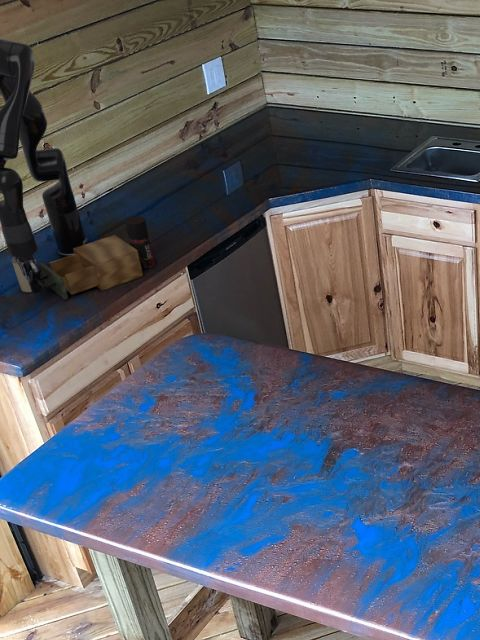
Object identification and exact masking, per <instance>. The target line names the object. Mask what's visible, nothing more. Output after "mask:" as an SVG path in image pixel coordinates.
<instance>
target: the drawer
mask: <svg viewBox="0 0 480 640" xmlns="http://www.w3.org/2000/svg"><path fill="white" fill-rule="evenodd" d="M38 264H39V268H40V269H41V274H42V277H40V280H38V283H39V286H40V289H41V291H47V290H48V288H50V289H51V290H52V291H53V292H54V293H56V294H57V295H58V296H59V297H61V298H62V299H63V300H68V299H69V295H68V293H69V294H70V295H71V296H72V295H76V294H79V293H81V292H84V291H87V290H89V289H93V288H95V287H96V286H98V285H99V282H98V279H97V275H96V271H95V268H94V266H93V265H92V264H91V263H89V262H88V261H86V260H85V259H84V258H82V257H81V256H80V255H78V254H77V253H76V254H73V255H70V256H63V257H61V258H59V259H55V260H53V261H49V262H48V265H49V266H48V265H47V264H46V263H45V262H40V263H38ZM41 281H44V282H41Z"/></svg>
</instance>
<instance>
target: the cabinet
mask: <svg viewBox="0 0 480 640" xmlns="http://www.w3.org/2000/svg"><path fill="white" fill-rule="evenodd" d="M73 251H74V254H76V253H77V254H78V255H80V256H81V257H82V258H84V259H85V260H86V261H88V262H89V263H91V264H92V265H93V266H94V268H95V271H96V275H97V279H98V282H99V285H98V286H95V287H96V288H97V289H99V290H100V291H105V290H108V289H111V288H113V287H116V286H120V285H122V284H125V283H127V282H130V281H133V280H136V279H139V278H141V277H143V276H144V273H143V269H141V265H140V260H139V256H138V252H137V250H136V249H135V248H133V247H132V246H131V245H130V243H128V242H126V241H125V240H123V239H122V238H120V237H118V236H117V235H115V234H114V235H111V236H107V237H104V238H101V239H98V240H95V241H92V242H89V243H87V244H85V245H82V246H79V247H76V248H73Z"/></svg>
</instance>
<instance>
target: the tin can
mask: <svg viewBox="0 0 480 640" xmlns="http://www.w3.org/2000/svg"><path fill="white" fill-rule="evenodd" d="M10 260H11V263H12V266H13V269H14V272H15V275H16V278H17V281H18V284H19V287H20V291H21V292H22V293H25V294H28V293H33V292H32V290H31V287H30V284H29V281H28V280H27V279H26V276H24V275H23V273H22V271H21V269H20V267H19V265H18V263H17V261H16V260H15V257H14V256H12V258H11V259H10Z"/></svg>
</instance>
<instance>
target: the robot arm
mask: <svg viewBox="0 0 480 640" xmlns="http://www.w3.org/2000/svg"><path fill="white" fill-rule="evenodd" d="M35 60H36V59H35V54H34V51H33V48H32V47H31V46H30V45H28V44H26V43H22V42H17V41H12V40H7V39H6V40H5V39H1V38H0V94H1V96H2V98H3V101H4V104H3V106H1V108H0V195H3V199H2V200H0V226H1V232H2V235H3V238H4V241H5V244H6V247H7V250H8V253H9V255H10V256H11V257H15V260H16V261H17V263H18V265H19V267H20V269H21V271H22V273H23V275H24V276H26V279H27V280H28V281H29V284H30V287H31V290H32V292H31V293H33V294H37V293H39V292H41V291H42V289H41V288H40V286H39V283H38V280H40V278H41V274H42V271H41V268H40V266H39V267H38V266H37V260H36V257H34V256H33V255H34V254H35V253H36V252H37V251H38V246H37V242H36V239H35V236H34V233H33V230H32V227H31V224H30V222H29V219H28V216H27V213H26V210H25V207H24V185H23V180H22V177H21V176H20V174H19V172H17V170H15V169H13V168H9V167H5V166H6V164H7V162H8V161H9V160H15V159H17V157H18V154H19V148H20V147H19V146H20V145H21V148H22V151H23V155H24V158H25V162H26V165H27V168H28V171H29V175H30V176H31V178H32V179H33V180H34V181H36V182H40V183H44V182H50V181H57V182H56V183H55V184H53V186H50V187H48V188H47V189H46V190H44V191H43V193H42V195H41V198H42V201H43V204H44V208H45V211H46V214H47V218H48V221H49V224H50V228H51V231H52V236H53V238H54V243H55V245H56V249H57V253H58V255H60V256H62V257H67V256H70V255H73V254H74V251H73V248H76V247H79V246H82V245H85V244H88V237H86V234H85V232H84V231H85V230H84V228H83V224H82V220H81V217H80V213H79V209H78V205H77V201H76V198H75V195H74V191H73V188H72V184H71V180H70V176H69V173H68V166H67V162H66V158H65V155H64V153H63V151H62V150H61V149H60V148H58V147H54V148H46V149H45V148H44V149H37V148H38V146H39V144H40V142H41V141H42V139H43V138H44V136H45V133H46V131H47V128H48V120H47V117H46V113H45V111H44V107H43V105H42V103H41V102H40V100H39V99H38V98H37V97H36V96H35V94H33V92H31V86H32V82H33V77H34V73H35V64H36V63H35Z"/></svg>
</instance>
